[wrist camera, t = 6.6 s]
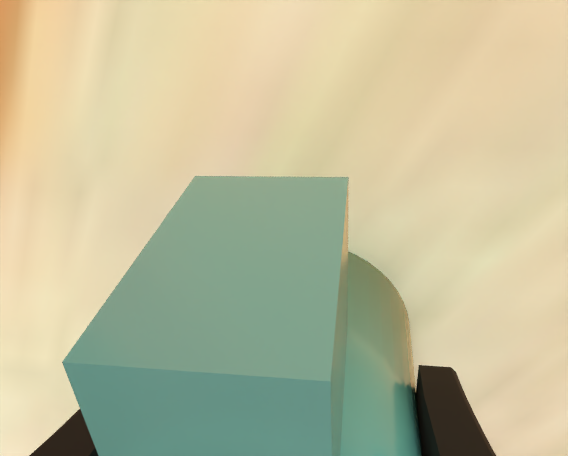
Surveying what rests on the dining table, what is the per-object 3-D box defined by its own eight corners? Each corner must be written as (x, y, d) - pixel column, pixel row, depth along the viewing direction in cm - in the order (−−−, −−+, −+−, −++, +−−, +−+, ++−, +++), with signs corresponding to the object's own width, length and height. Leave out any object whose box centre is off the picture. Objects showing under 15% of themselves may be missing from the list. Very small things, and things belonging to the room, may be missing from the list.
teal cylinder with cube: (438, 122, 9) (621, 628, 3) (409, 413, 13) (450, 906, 7) (156, 125, 10) (-265, 507, 3) (209, 397, 14) (64, 819, 8)
